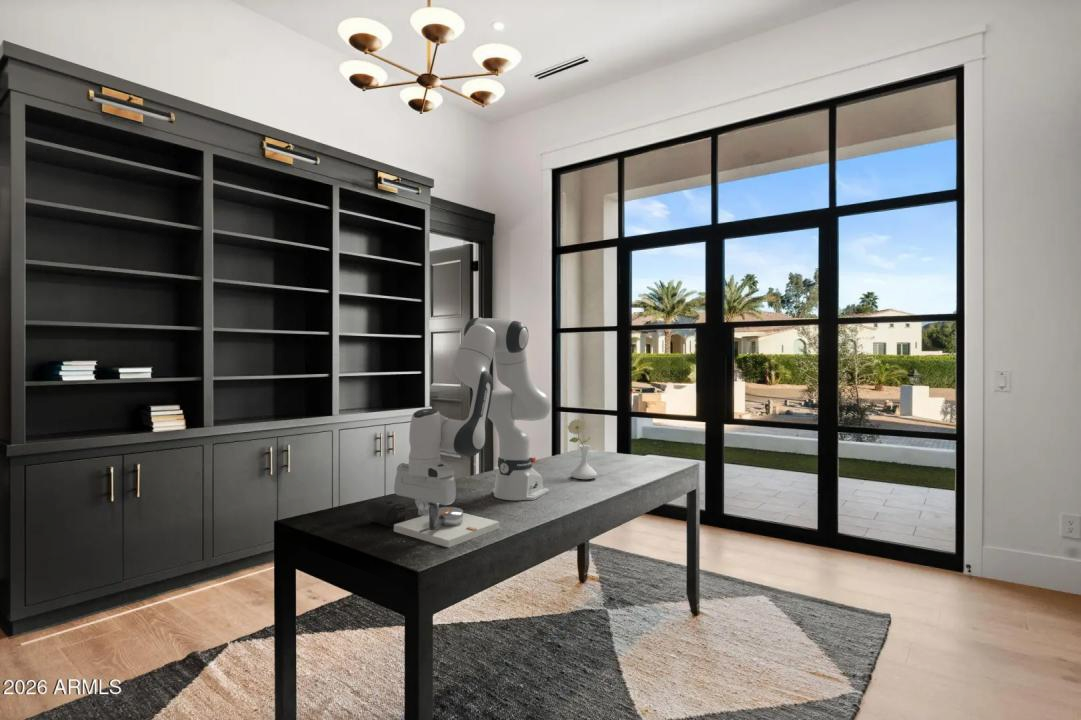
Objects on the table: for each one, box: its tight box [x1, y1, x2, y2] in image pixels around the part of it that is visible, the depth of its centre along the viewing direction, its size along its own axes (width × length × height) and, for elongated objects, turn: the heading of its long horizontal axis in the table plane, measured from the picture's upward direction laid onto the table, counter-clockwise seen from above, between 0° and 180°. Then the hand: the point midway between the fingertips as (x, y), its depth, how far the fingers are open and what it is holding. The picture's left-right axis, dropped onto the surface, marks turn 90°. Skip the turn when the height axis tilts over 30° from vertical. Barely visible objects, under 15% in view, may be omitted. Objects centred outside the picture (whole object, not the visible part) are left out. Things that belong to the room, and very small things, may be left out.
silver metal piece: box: [429, 503, 464, 530], centre depth 174 cm, size 16×9×8 cm, turn 166°
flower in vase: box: [567, 418, 598, 480], centre depth 250 cm, size 13×11×25 cm
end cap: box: [366, 499, 406, 529], centre depth 181 cm, size 10×7×7 cm
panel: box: [393, 512, 500, 549], centre depth 177 cm, size 22×22×2 cm
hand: (423, 515), depth 169 cm, fingers closed
